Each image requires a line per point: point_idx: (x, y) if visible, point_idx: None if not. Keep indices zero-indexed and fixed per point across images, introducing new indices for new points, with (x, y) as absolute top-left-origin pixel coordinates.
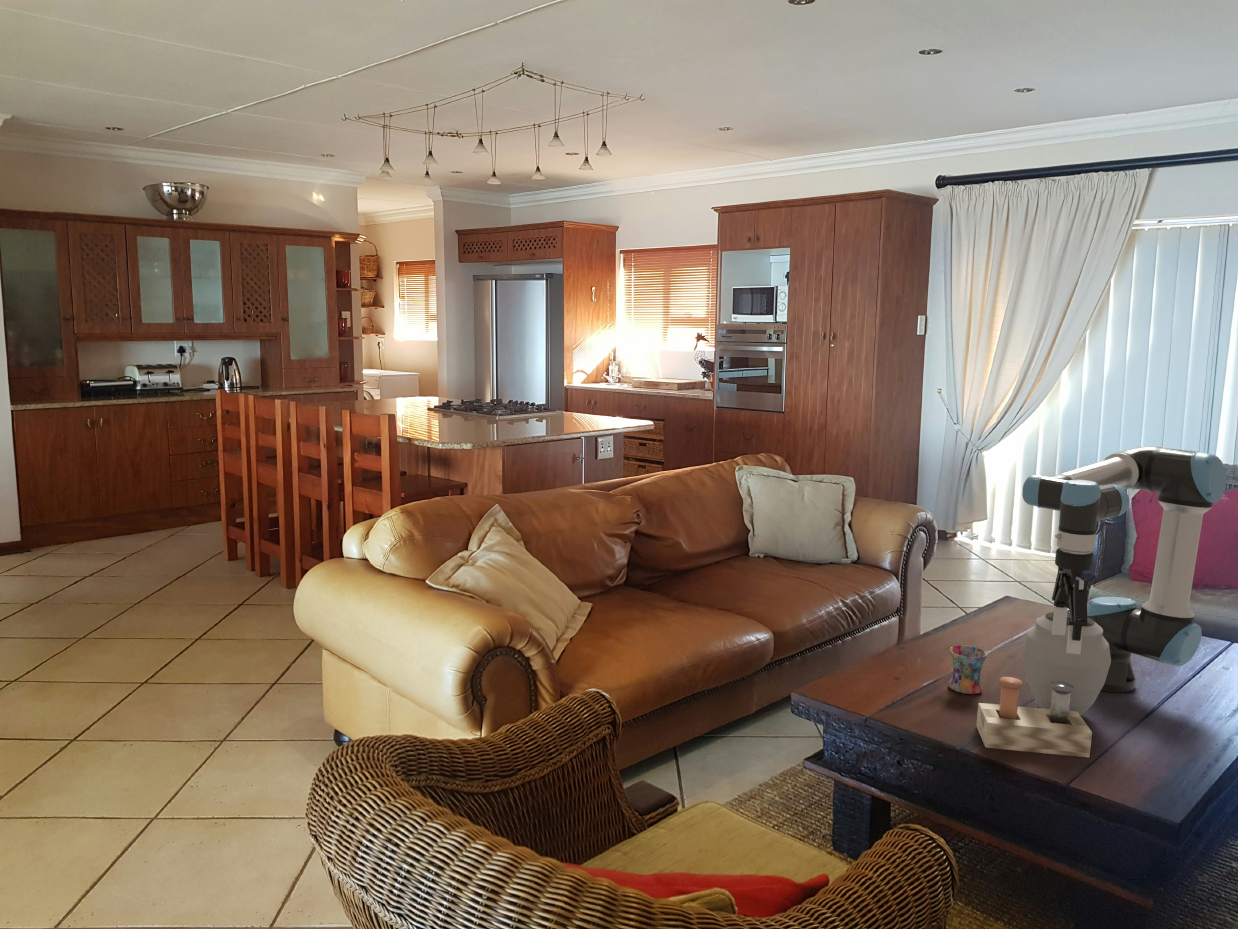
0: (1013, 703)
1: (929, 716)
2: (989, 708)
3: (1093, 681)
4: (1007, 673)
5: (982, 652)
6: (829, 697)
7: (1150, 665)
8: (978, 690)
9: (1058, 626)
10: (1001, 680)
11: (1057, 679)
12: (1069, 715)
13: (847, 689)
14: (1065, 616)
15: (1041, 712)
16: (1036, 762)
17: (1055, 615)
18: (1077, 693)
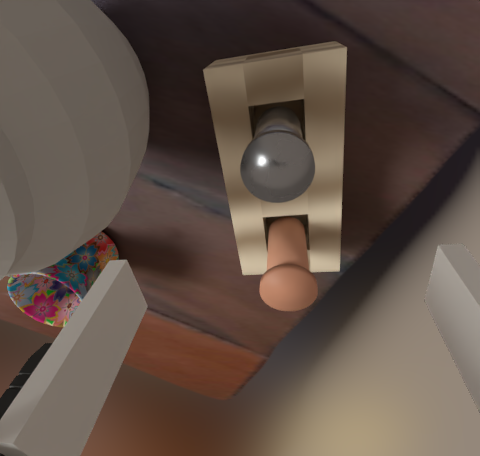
0: (306, 251)
1: (234, 298)
2: (265, 261)
3: (96, 19)
4: None
5: (22, 275)
6: (223, 383)
7: None
8: (99, 235)
9: (119, 328)
10: (293, 309)
11: (142, 148)
12: (240, 97)
13: (187, 368)
14: (64, 371)
15: None
16: (380, 163)
17: (93, 412)
18: (138, 71)
